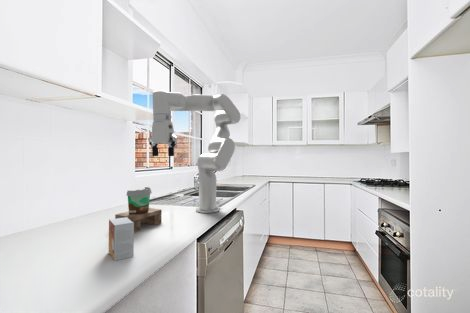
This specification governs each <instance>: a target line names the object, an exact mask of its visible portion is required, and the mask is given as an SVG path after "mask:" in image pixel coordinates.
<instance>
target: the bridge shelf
mask: <svg viewBox="0 0 470 313" xmlns="http://www.w3.org/2000/svg"><path fill="white" fill-rule="evenodd" d="M162 211H163V210H162V209H161V208H153V207H149V211H148V212H147V213H143V214H129V210H128V211H125V212H124V211H123V212H120V213H115V215H114V216H115V217H114V219H117V218H125V217H128V219H130V220H131V221H132V222H134V233H135V232H138V231H141V223H142V224H147V225H152V226H156V225H159V224H162Z"/></svg>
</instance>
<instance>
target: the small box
mask: <svg viewBox="0 0 470 313" xmlns="http://www.w3.org/2000/svg"><path fill="white" fill-rule="evenodd" d="M134 233H135V232H134V222H132V221H131V220H130V219H128V217H125V218H117V219H115V218H111V219H110V218H109V219H108V253H109V254H110V257H111V258H112V260H113V261H114V262H115V261H116V262H117V261H119V260H122V259H128V258H131V257H134V249H135V247H134V246H135V245H134V243H135V241H134V240H135V239H134V237H135V234H134Z"/></svg>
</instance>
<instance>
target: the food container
mask: <svg viewBox="0 0 470 313" xmlns="http://www.w3.org/2000/svg"><path fill="white" fill-rule="evenodd" d="M151 194H152V189H151V188H150V187H149V186H147V187H144V188H143V189H135V190H127V192H126V197H127V204H128V208H127V209H128V211H129V214H143V213H147V212H148V211H149V208H150V199H151V198H150V197H151Z"/></svg>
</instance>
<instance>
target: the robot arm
mask: <svg viewBox="0 0 470 313" xmlns="http://www.w3.org/2000/svg"><path fill="white" fill-rule="evenodd" d="M171 112H216V113H215V114H214V117H213V118H214V122H215V128H216V131H215V132H214V135H213V137H212V138H211V140H210V142H209V143H208V147H207V150H208V152H209V153H206V152H205V153H202V154H200V155H199V156H198V158H197V162H196V164H197V169H198V207H196V208H195V212H197V213H201V214H214V213H217V212H219V211H220V209H219V207H217V206H219V205H220V201H218V200H217V176H216V172H223V171H224V170H226V168H227V166H228V165H229V163H230V161H231V159H232V157H233V155H234V153H235V148H236V146H235V142H234V140H233V139H232V138H230V136H231V134H230V130H229V127H228V125H236V124H237V123H239V122H240V120H241V113H240V111H239V109H238V108H237V106H236V105H235V104H234V103H233V101H232V100H231V99H230V97H228V96H227V95H226V94H224V93H220V94H216V95H207V94H198V93H197V94H190V95H184V94H183V93H181V92H171V91H169V92H168V91H166V90H154V91H153V93H152V119H153V120H152V124H151V125H152V126H151V136H149V137H148V138H147V141H148V142H149V143H148V144H149V145H150V148H151V149H152V151H151V153H152V155H151V156H152V157H159V147H158V146H159V144H167V145H168V147H167V152H168V153H167V156H168V157H175V147H176V145H177V144H178V140H179V136H176V135H175V129H174V125H173V121H171V119H172V115H171Z"/></svg>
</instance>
